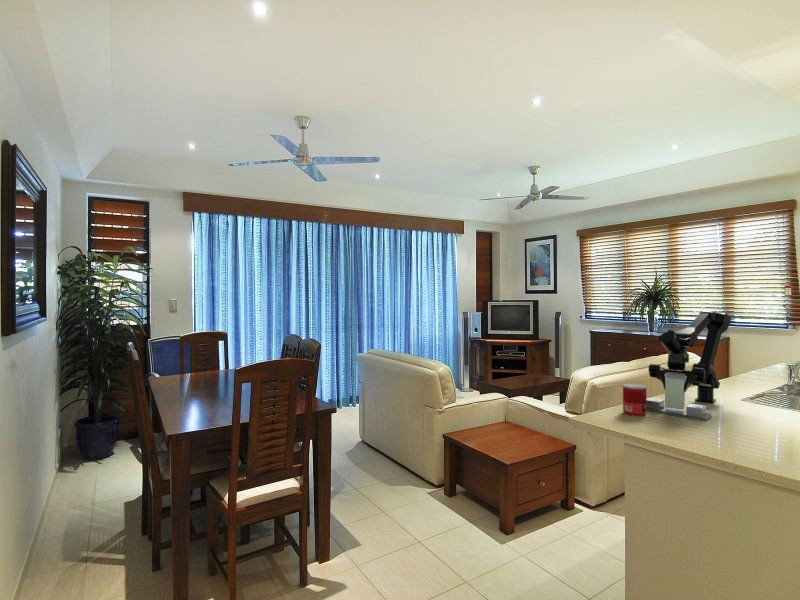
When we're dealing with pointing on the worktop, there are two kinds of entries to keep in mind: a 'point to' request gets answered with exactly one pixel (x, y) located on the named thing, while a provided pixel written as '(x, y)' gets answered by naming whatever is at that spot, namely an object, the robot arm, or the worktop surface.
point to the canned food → (634, 399)
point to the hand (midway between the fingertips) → (674, 390)
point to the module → (674, 390)
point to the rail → (690, 412)
